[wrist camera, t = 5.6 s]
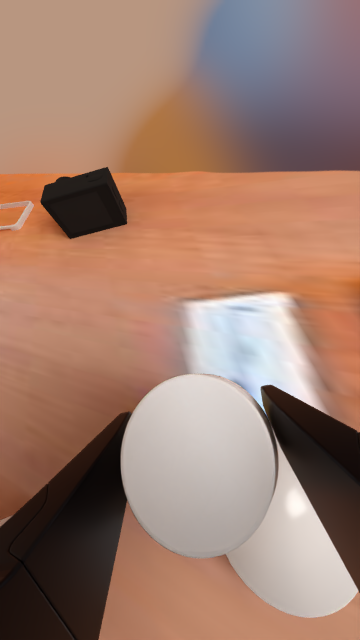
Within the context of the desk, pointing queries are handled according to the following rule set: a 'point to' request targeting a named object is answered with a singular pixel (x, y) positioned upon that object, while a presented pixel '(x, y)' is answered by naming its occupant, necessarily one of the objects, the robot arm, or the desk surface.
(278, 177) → the desk surface
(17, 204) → the phone case
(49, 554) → the robot arm
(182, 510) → the supplement bottle
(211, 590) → the desk surface
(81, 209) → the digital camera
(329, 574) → the plinth
